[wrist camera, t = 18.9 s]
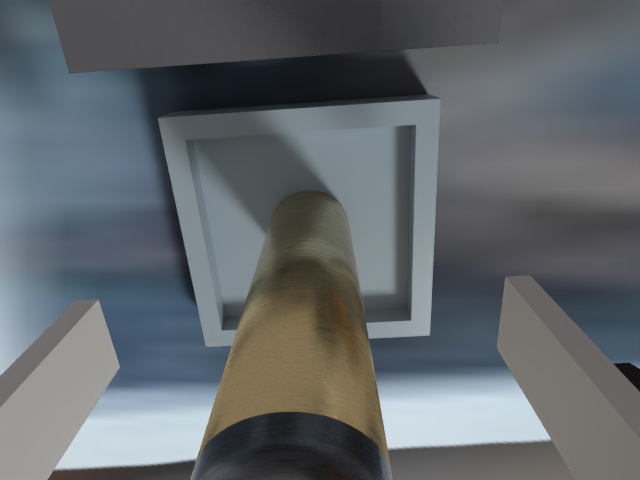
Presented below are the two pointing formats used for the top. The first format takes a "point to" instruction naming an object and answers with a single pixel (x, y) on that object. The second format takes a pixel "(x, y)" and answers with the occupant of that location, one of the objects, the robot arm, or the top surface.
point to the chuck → (259, 29)
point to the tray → (309, 174)
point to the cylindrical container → (299, 361)
